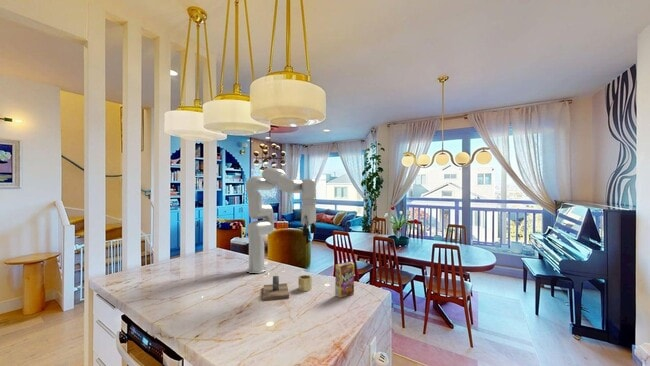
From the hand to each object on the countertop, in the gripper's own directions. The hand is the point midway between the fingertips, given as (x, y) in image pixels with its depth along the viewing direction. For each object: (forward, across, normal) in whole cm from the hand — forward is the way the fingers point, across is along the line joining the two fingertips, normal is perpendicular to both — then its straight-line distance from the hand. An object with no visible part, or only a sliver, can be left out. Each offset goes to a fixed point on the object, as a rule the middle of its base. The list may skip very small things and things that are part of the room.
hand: (309, 234), depth 137 cm
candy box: (+29, +2, +19) cm, 34 cm away
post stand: (+28, +11, -14) cm, 33 cm away
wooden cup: (+28, +2, -3) cm, 28 cm away
